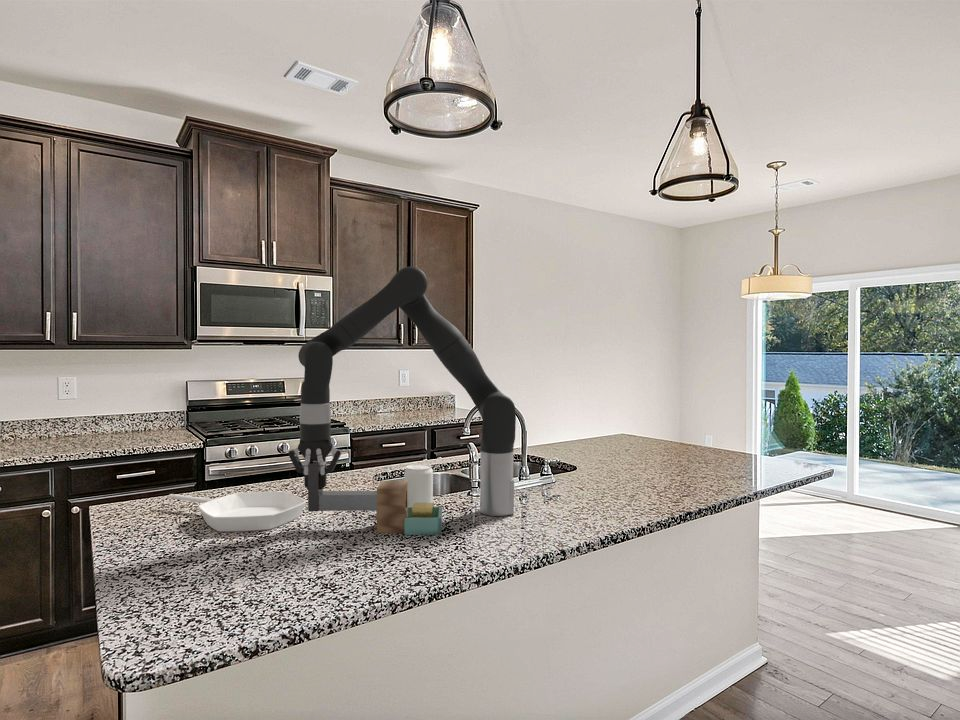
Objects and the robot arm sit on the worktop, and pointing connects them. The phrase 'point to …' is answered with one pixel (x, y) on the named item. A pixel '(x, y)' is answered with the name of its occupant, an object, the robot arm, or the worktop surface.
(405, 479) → the beverage can
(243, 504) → the pan
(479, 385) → the robot arm
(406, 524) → the tray
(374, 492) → the grey l-shaped block
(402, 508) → the block
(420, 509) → the block
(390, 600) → the worktop surface
